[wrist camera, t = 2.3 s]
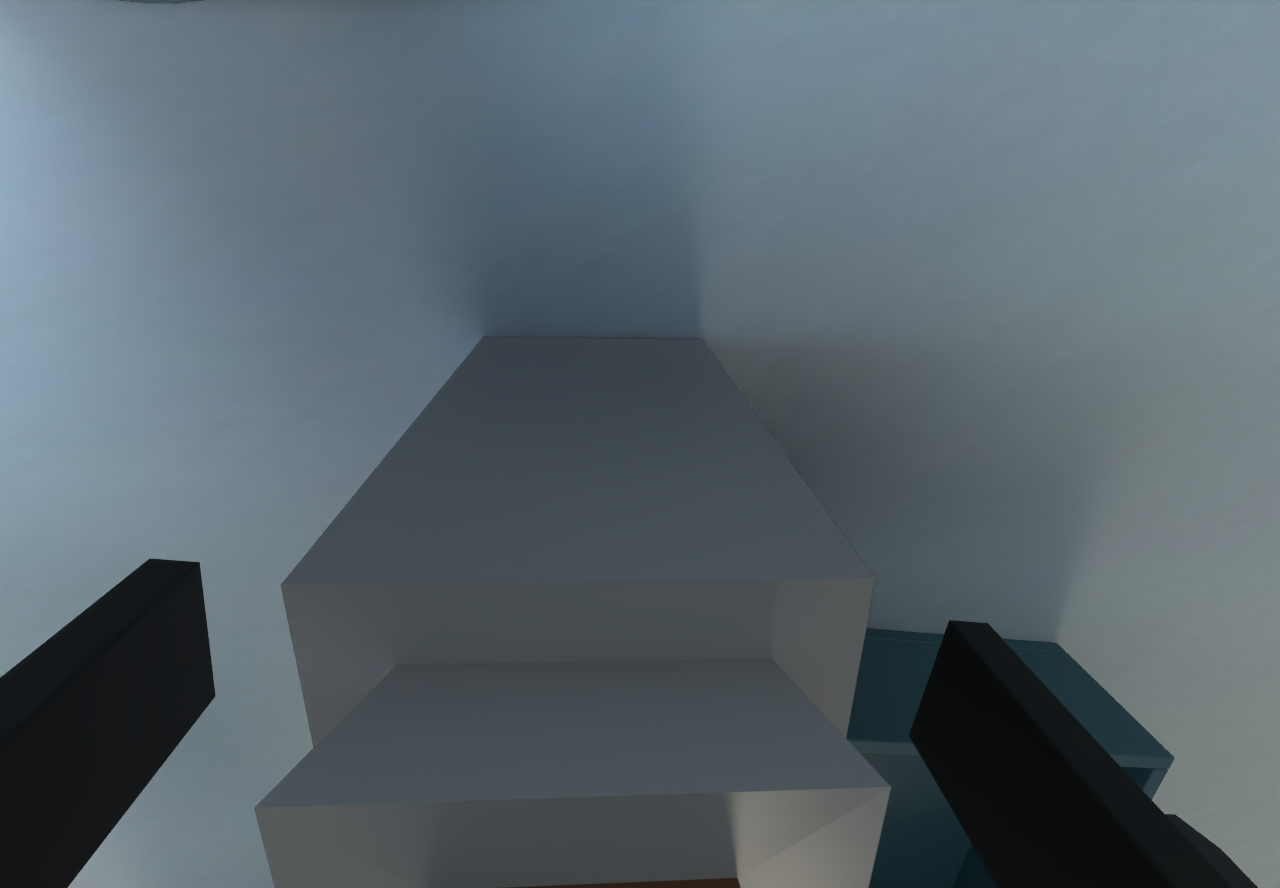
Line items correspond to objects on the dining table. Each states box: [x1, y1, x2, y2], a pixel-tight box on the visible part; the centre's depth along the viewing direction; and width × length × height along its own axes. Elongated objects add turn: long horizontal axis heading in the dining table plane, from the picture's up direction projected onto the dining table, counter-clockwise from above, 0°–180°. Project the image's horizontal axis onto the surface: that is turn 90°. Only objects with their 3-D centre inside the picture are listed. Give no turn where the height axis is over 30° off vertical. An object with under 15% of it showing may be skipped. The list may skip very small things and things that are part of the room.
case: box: [846, 629, 1174, 888], centre depth 25 cm, size 15×13×6 cm
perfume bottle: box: [255, 336, 891, 888], centre depth 13 cm, size 7×7×18 cm
